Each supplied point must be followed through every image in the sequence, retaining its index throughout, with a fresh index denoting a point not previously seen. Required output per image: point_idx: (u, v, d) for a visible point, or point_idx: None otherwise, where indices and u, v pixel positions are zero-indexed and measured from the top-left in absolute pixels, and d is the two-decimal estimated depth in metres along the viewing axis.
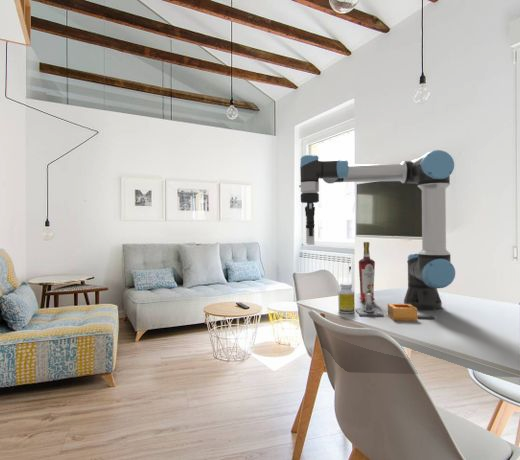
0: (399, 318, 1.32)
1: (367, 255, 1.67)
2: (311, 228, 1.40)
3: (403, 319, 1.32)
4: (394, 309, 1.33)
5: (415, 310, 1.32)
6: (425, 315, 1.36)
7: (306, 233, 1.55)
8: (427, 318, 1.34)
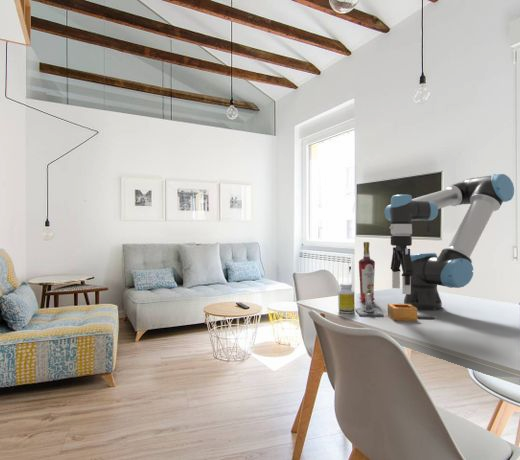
0: (399, 318, 1.32)
1: (367, 255, 1.67)
2: (408, 276, 1.28)
3: (403, 319, 1.32)
4: (394, 309, 1.33)
5: (415, 310, 1.32)
6: (425, 315, 1.36)
7: (392, 277, 1.43)
8: (427, 318, 1.34)
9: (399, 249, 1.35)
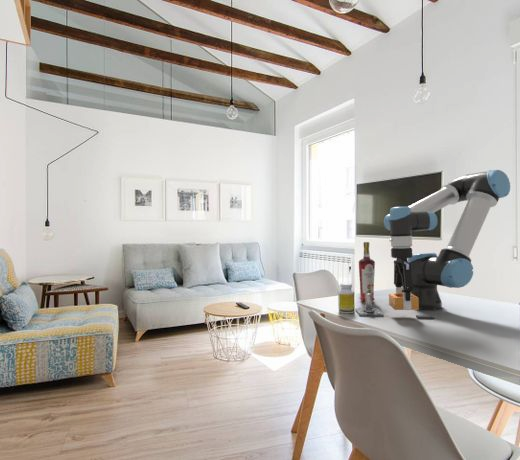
0: (400, 307, 1.33)
1: (367, 255, 1.67)
2: (408, 292, 1.30)
3: None
4: (395, 299, 1.33)
5: (416, 299, 1.32)
6: (425, 315, 1.36)
7: None
8: (427, 318, 1.34)
9: (400, 261, 1.35)
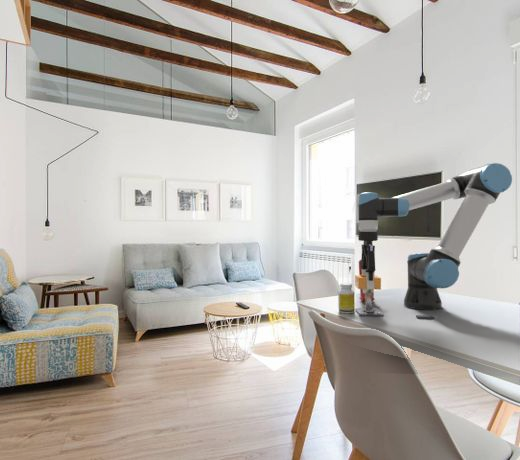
0: (364, 287, 1.40)
1: None
2: (371, 272, 1.38)
3: None
4: (359, 278, 1.41)
5: (379, 279, 1.40)
6: (425, 315, 1.36)
7: (362, 274, 1.49)
8: (427, 318, 1.34)
9: (366, 243, 1.43)
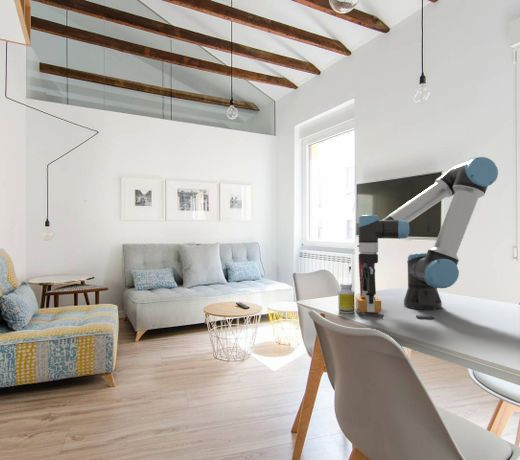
0: (364, 310, 1.40)
1: None
2: (372, 296, 1.38)
3: None
4: (359, 301, 1.41)
5: (379, 302, 1.40)
6: (425, 315, 1.36)
7: (363, 296, 1.49)
8: (427, 318, 1.34)
9: (366, 266, 1.43)
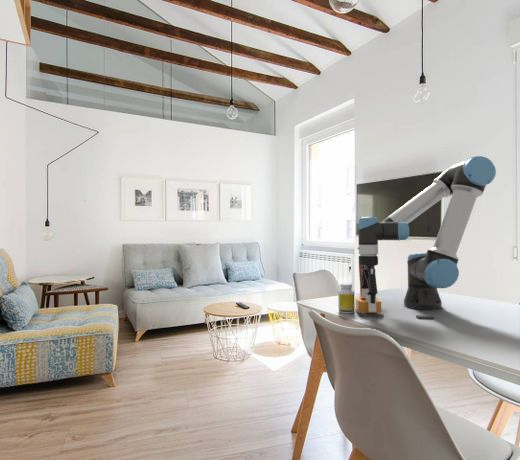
0: (364, 310, 1.40)
1: None
2: (373, 295, 1.36)
3: (368, 311, 1.40)
4: (359, 302, 1.41)
5: (379, 303, 1.40)
6: (425, 315, 1.36)
7: (362, 294, 1.51)
8: (427, 318, 1.34)
9: (366, 268, 1.43)
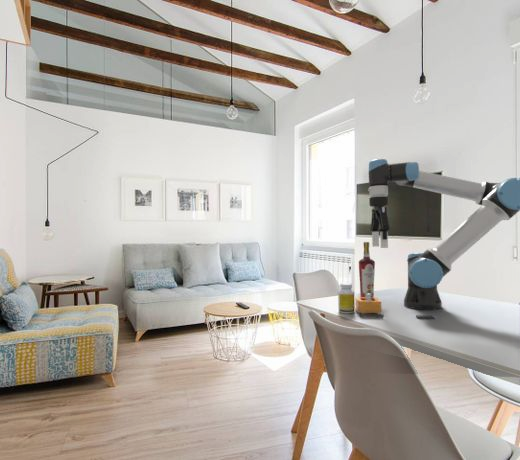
0: (364, 310, 1.40)
1: (367, 255, 1.67)
2: (385, 231, 1.42)
3: (368, 311, 1.40)
4: (359, 302, 1.41)
5: (379, 303, 1.40)
6: (425, 315, 1.36)
7: (372, 236, 1.57)
8: (427, 318, 1.34)
9: (377, 209, 1.49)
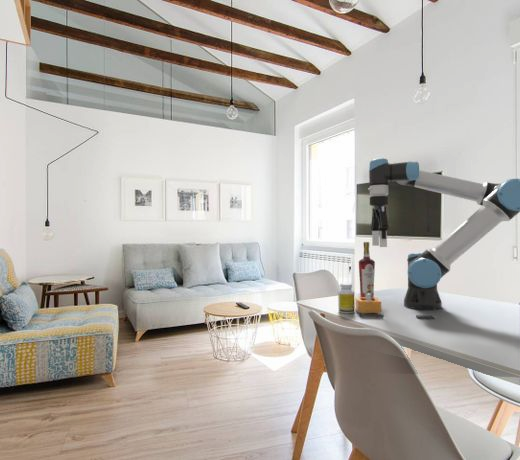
0: (364, 310, 1.40)
1: (367, 255, 1.67)
2: (384, 231, 1.42)
3: (368, 311, 1.40)
4: (359, 302, 1.41)
5: (379, 303, 1.40)
6: (425, 315, 1.36)
7: (372, 235, 1.57)
8: (427, 318, 1.34)
9: (377, 208, 1.49)
